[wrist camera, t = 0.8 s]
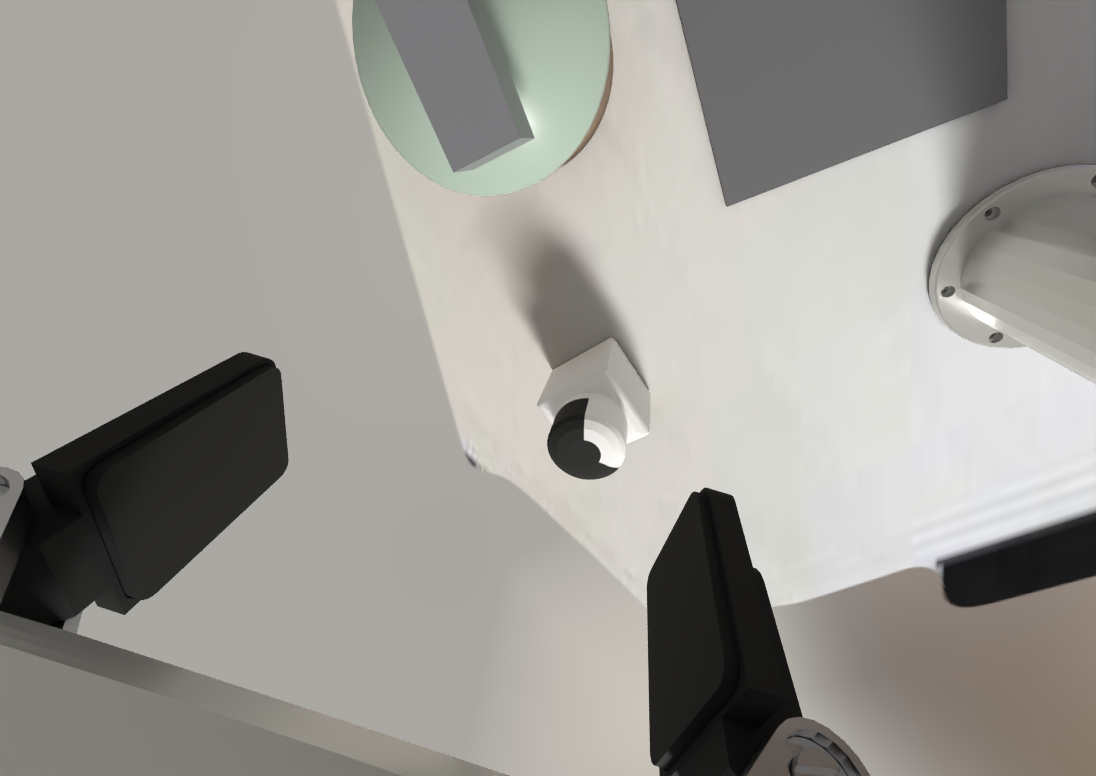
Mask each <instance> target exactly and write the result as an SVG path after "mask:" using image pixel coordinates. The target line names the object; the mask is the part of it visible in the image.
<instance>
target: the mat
mask: <svg viewBox="0 0 1096 776" xmlns="http://www.w3.org/2000/svg"><path fill="white" fill-rule="evenodd" d="M676 3H677V7H678V11H679V15H680V19H681V23H682V27H683V31H684V36H685V40H686V44H687V48H688V52H689V56H690V60H691V64H692V68H693V72H694V76H695V81H696V85H697V89H698V93H699V97H700V101H701V105H702V109H703V113H704V117H705V121H706V126H707V130H708V134H709V138H710V142H711V146H712V150H713V154H714V158H715V162H716V166H717V170H718V175H719V179H720V183H721V187H722V191H723V195H724V199H725V203H726V206H727V207H728V206H730V205H733V204H735V203H738V202H741V201H743V200H746V199H748V198H751V197H754V196H756V195H759V194H761V193H764V192H767V191H769V190H772V189H774V188H777V187H780V186H782V185H785V184H787V183H790V182H793V181H795V180H798V179H800V178H803V177H806V176H808V175H811V174H813V173H816V172H819V171H821V170H824V169H826V168H829V167H832V166H834V165H837V164H839V163H842V162H844V161H847V160H850V159H852V158H855V157H857V156H860V155H863V154H865V153H868V152H870V151H873V150H876V149H878V148H881V147H883V146H886V145H889V144H891V143H894V142H896V141H899V140H902V139H904V138H907V137H909V136H912V135H915V134H917V133H920V132H922V131H925V130H928V129H930V128H933V127H935V126H938V125H941V124H943V123H946V122H948V121H951V120H954V119H956V118H959V117H961V116H964V115H967V114H969V113H972V112H974V111H977V110H980V109H982V108H985V107H987V106H990V105H993V104H995V103H998V102H1000V101H1003V100H1006V99H1007V41H1006V0H676Z"/></svg>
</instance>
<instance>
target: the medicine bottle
mask: <svg viewBox="0 0 1096 776" xmlns="http://www.w3.org/2000/svg"><path fill="white" fill-rule="evenodd" d="M537 405H538V408H539V409H540V410H541V412H542V413H543V414H544V416H545V417H546V418H547V420H548V421H549V422H550V424H551V425H552V427H551V430H550V433H549V436H548V440H547V446H548V451H549V454H550V456H551V458H552V460H553V461H554V463H555V464H556V465H557V466H558V467H559V468H560V469H561V470H563V471H564V472H566V473H567V474H569V475H571V476H574V477H577V478H580V479H588V480H590V479H600V478H603V477H606V476H609V475H610V474H612V473H614V472H615V471H616V470H617V469H618V468H619V467H620V466H621V464H622V463H623V460H624V458H625V452H626V444H628V443H630V442H632V441H635V440H637V439H639V438H641V437H644V436H646V435H648V434H649V432H650V392H649V391H648V389H647V388H646V386H645V385H644V383H643V382H642V380H641V379H640V377H639V376H638V374H637V372H636V371H635V369H634V368H633V366H632V365H631V363H630V362H629V360H628V359H627V357H626V356H625V354H624V353H623V351H622V350H621V348H620V347H619V345H618V343H617V342H616V340H615V339H614V338H612V337H611V338H609V339H607V340H605V341H603V342H602V343H600V344H598V345H596V346H594V347H593V348H591V349H589V350H587V351H585V352H584V353H582V354H580V355H578V356H576V357H575V358H573V359H571V360H569V361H568V362H566V363H564V364H562V365H560V366H559V367H557V368H555V369H553V370H552V373H551V375H550V377H549V379H548V381H547V384H546V386H545V388H544V390H543V392H542V394H541V397H540V399H539V401H538V404H537Z"/></svg>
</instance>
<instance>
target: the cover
mask: <svg viewBox="0 0 1096 776" xmlns="http://www.w3.org/2000/svg"><path fill="white" fill-rule="evenodd" d="M352 24H353V43H354V51H355V59H356V64H357V68H358V72H359V77H360V81H361V84H362V87H363V90H364V93H365V96H366V99H367V101H368V103H369V106H370V108H371V110H372V113H373V115H374V117H375V119H376V120H377V122H378V124H379V126H380V127H381V129H382V131H383V133H384V134H385V135H386V137H387V138H388V140H389V141H390V143H391V144H392V145H393V147H394V148H395V149H396V150H397V151H398V152H399V154H400V155H401V156H402V157H403V158H404V159H405V160H406V161H407V162H408V163H409V164H410V165H411V166H412V167H414V168H415V169H416V170H417V171H418V172H420V173H421V174H423V175H424V176H425V177H427V178H428V179H430V180H432V181H433V182H435V183H437V184H439V185H441V186H443V187H445V188H448V189H450V190H453V191H456V192H459V193H464V194H468V195H476V196H497V195H504V194H508V193H513V192H516V191H519V190H522V189H524V188H527V187H530V186H532V185H534V184H536V183H538V182H540V181H542V180H543V179H545V178H547V177H548V176H550V175H551V174H552V173H554V172H555V171H556V170H557V169H559V168H560V167H561V166H562V165H563V164H564V163H565V162H566V161H567V160H568V159H569V158H570V157H571V156H572V155H573V153H574V152H575V151H576V149H577V148H578V147H579V145H580V144H581V143H582V141H583V140H584V138H585V136H586V134H587V133H588V131H589V129H590V128H591V126H592V123H593V121H594V119H595V117H596V114H597V112H598V110H599V107H600V104H601V101H602V97H603V94H604V91H605V86H606V81H607V76H608V71H609V61H610V50H611V48H610V22H609V14H608V6H607V1H606V0H353V15H352Z"/></svg>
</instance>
